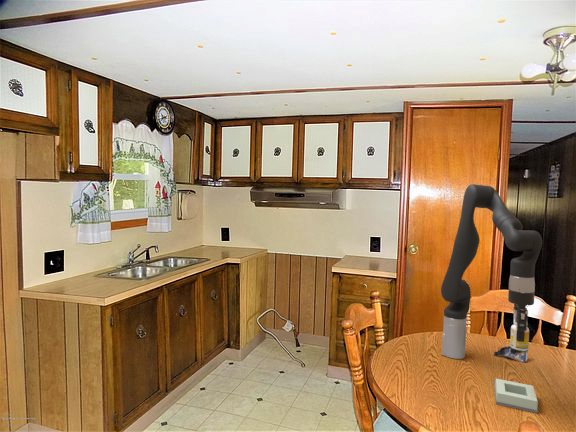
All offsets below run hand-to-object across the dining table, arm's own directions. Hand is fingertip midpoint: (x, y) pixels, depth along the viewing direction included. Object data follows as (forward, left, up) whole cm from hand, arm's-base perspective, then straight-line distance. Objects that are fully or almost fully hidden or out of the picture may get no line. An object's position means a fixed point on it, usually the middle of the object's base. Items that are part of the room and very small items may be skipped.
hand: (519, 337), depth 133 cm
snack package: (+1, +40, -22) cm, 46 cm away
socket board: (0, +2, -22) cm, 22 cm away
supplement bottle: (0, 0, -4) cm, 4 cm away
